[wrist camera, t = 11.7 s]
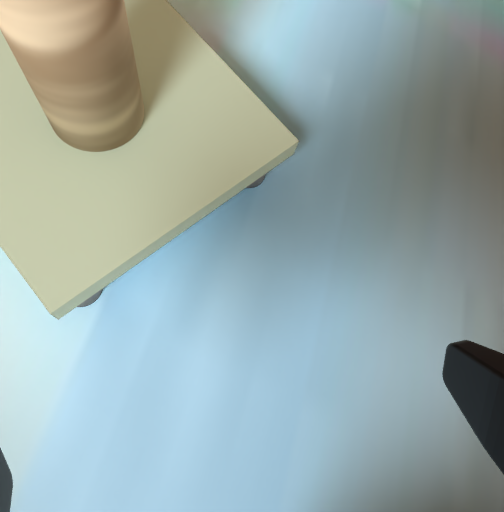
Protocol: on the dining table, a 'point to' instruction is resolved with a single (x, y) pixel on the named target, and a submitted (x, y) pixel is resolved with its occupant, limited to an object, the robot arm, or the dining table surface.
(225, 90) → the peg shelf
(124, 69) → the post
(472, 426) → the robot arm
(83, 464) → the dining table surface
